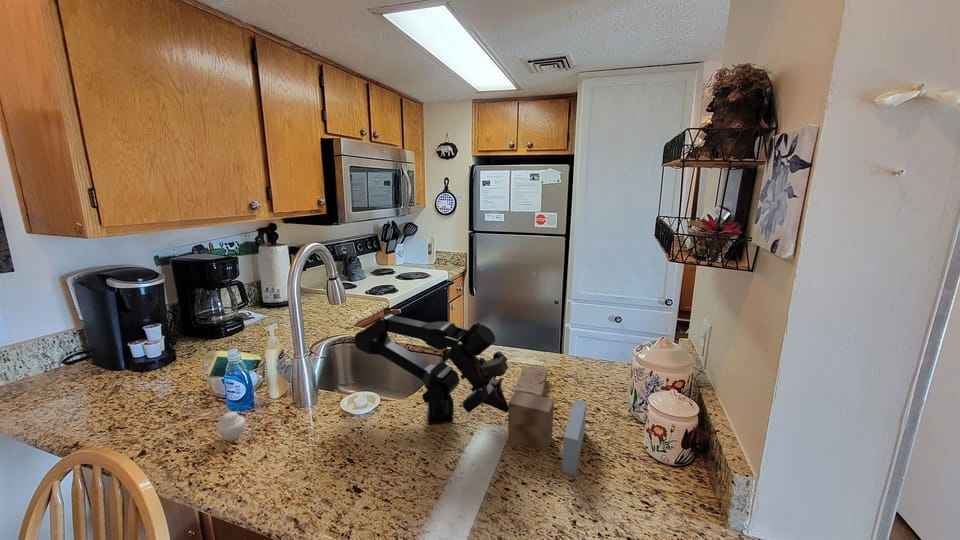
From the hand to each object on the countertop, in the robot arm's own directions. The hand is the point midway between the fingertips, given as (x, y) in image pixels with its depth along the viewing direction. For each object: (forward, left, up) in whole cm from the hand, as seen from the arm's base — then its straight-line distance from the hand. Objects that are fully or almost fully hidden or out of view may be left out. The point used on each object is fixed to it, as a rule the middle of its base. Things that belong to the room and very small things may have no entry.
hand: (508, 411), depth 97 cm
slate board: (+14, -10, -7) cm, 18 cm away
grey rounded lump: (-69, +15, -7) cm, 71 cm away
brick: (+13, +19, -7) cm, 24 cm away
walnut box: (+5, -3, -7) cm, 9 cm away
